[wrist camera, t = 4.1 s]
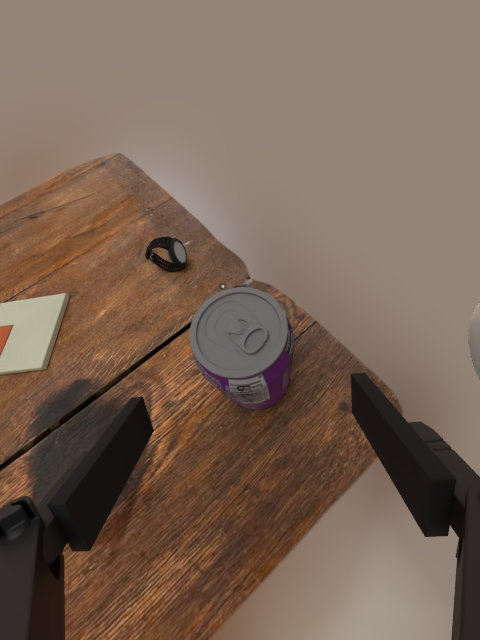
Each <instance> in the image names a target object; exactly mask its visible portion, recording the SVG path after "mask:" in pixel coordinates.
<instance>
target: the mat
mask: <svg viewBox="0 0 480 640" xmlns="http://www.w3.org/2000/svg"><path fill="white" fill-rule="evenodd" d="M69 297H70V296H69V295H68V294H66V293H64V294H58V295H51V296H45V297H39V298H32V299H26V300H19V301H13V302H7V303H0V375H2V374H11V373H19V372H27V371H36V370H44V369H47V366H48V363H49V360H50V357H51V354H52V351H53V347H54V344H55V341H56V338H57V335H58V332H59V329H60V325H61V322H62V319H63V316H64V313H65V310H66V307H67V304H68V300H69Z"/></svg>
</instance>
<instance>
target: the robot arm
mask: <svg viewBox="0 0 480 640" xmlns="http://www.w3.org/2000/svg"><path fill="white" fill-rule="evenodd" d="M351 391H352V413H353V415H354V417H355V418H356V420H357V422H358V424H359V425H360V427H361V429H362V430H363V432H364V434H365V435H366V437H367V439H368V441H369V442H370V444H371V446H372V447H373V449H374V451H375V452H376V454H377V456H378V458H379V459H380V461H381V463H382V464H383V466H384V468H385V469H386V471H387V473H388V474H389V476H390V478H391V480H392V481H393V483H394V485H395V486H396V488H397V490H398V492H399V493H400V495H401V497H402V498H403V500H404V502H405V503H406V505H407V507H408V509H409V510H410V512H411V514H412V515H413V517H414V519H415V520H416V522H417V524H418V526H419V527H420V529H421V531H422V532H423V534H424V536H425V537H435V536H448V532H449V525H450V526H451V527H452V528H453V530H454V531H455V533H456V534H457V536H458V537H459V542H458V547H457V553H456V558H457V568H456V582H455V597H454V612H453V626H452V640H480V477H479V476H478V475H477V474H476V473H475V472H474V471H473V470H472V469H471V468H470V466H468V465H467V464H466V462H465V461H464V460H463V459H462V458H461V457H460V456H459V455H458V454H457V453H456V452H455V451H454V450H452V449H451V447H450V446H449V445H448V444H447V443H446V442H445V441H443V439H442V438H441V437H440V436H439V435H438V434H437V433H436V432H435V431H434V430H433V429H432V428H430V427H429V426H427V425H425V424H424V423H422V422H410V423H408V422H407V421H406V420H405V419H404V418H403V416H402V415H401V414H400V413H399V412H398V411H397V410H396V408H395V407H394V406H393V405H392V404H391V403H390V401H389V400H388V399H387V398H386V397H385V396H384V395H383V393H382V392H381V391H380V390H379V389H378V388H377V386H376V385H375V384H374V383H373V382H372V381H371V380H370V378H369V377H368V376H367V375H366V374H365V373H357V374H351ZM153 432H154V430H153V427H152V424H151V421H150V418H149V415H148V412H147V409H146V406H145V403H144V399H143V397H136V398H131V399H130V401H129V402H128V403H127V404H126V406H125V407H124V408H123V409H122V411H121V412H120V413H119V414H118V416H117V417H116V418H115V419H114V421H113V422H112V423H111V424H110V426H109V427H108V428H107V429H106V431H105V432H104V433H103V435H102V436H101V437H100V438H99V440H98V441H97V442H96V443H95V445H94V446H93V447H92V448H91V450H90V451H86V452H84V453H83V454H82V455H81V456H80V457H78V458H77V459H76V460H75V461H74V462H73V463H72V465H71V466H70V467H69V468H68V469H67V472H65V473H64V474H63V475H62V477H61V479H60V480H58V482H57V483H56V484H55V485H54V486H53V488H52V489H51V490H50V491H49V492H48V494H47V495H46V496H45V497H44V498H43V500H42V501H41V502H40V503H39V505H38V506H37V507H35V505H34V503H33V501H32V500H31V498H30V497H27V496H24V497H19V498H17V499H15V500H13V501H11V502H9V503H8V504H6V505H5V506H3V507H2V508H1V509H0V640H65V593H64V556H63V553H62V551H63V549H64V547H65V546H66V544H67V543H69V545H70V547H71V549H72V551H73V552H74V551H90V550H91V548H92V546H93V544H94V542H95V540H96V538H97V537H98V535H99V533H100V531H101V529H102V527H103V525H104V523H105V522H106V520H107V518H108V516H109V514H110V512H111V510H112V508H113V507H114V505H115V503H116V501H117V499H118V497H119V495H120V493H121V492H122V490H123V488H124V486H125V484H126V482H127V480H128V478H129V477H130V475H131V473H132V471H133V469H134V467H135V465H136V463H137V462H138V460H139V458H140V456H141V454H142V452H143V450H144V448H145V447H146V445H147V443H148V441H149V439H150V437H151V435H152V433H153Z"/></svg>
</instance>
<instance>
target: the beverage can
mask: <svg viewBox="0 0 480 640" xmlns="http://www.w3.org/2000/svg"><path fill="white" fill-rule="evenodd" d="M190 343H191V347H192V350H193V357H194V360H195V363H196V365H197V367H198V369H199V371H200V372H201V373H202V375H203V376H204V377H205V378H206V379H207V380H208V381H209V382H210V383H212V384H213V385H214V386H215V387H216V388H218V389H219V390H220V391H221V392H222V393H224V394H225V395H226V396H227V397H228V398H230V399H231V400H232V401H233V402H235V403H236V404H238V405H239V406H241V407H244V408H247V409H253V410H257V409H264V408H267V407H270V406H272V405H273V404H275V403H276V402H277V401H279V400H280V399H281V397H282V396H283V395H284V393H285V392H286V390H287V387H288V384H289V379H290V372H291V365H292V357H293V350H294V335H293V330H292V326H291V324H290V322H289V320H288V318H287V316H286V315H285V313H284V311H283V309H282V308H281V306H280V305H279V303H278V302H277V301H276V300H275V299H274V298H273V297H271V296H270V295H268V294H267V293H265V292H263V291H260V290H258V289H254V288H248V287H237V288H231V289H227V290H224V291H221V292H219V293H217V294H215V295H214V296H212V297H211V298H209V299H208V300H207V301H206V302H205V303H204V304H203V305H202V306H201V307H200V308H199V310H198V311H197V313H196V314H195V316H194V318H193V321H192V324H191V328H190Z"/></svg>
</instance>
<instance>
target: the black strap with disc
mask: <svg viewBox="0 0 480 640" xmlns="http://www.w3.org/2000/svg"><path fill="white" fill-rule="evenodd" d="M157 240H158V241H157ZM159 243H160V245H159ZM156 244H157V245H156ZM165 244H166V245H165ZM157 247H161V248H164V249H166V250H168V254H169V256H170V258H171V260H172V262H173V263H171V262H168V261H166V260H164V259H162V258H161V257H159V256H158V255H157V254H156V253H155V252H154V251H153V250H152V249H153V248H157ZM151 251H152V252H151ZM153 252H154V253H153ZM152 255H153V256H152ZM145 256H146V259H148V260H149V261H150V262H151V263H152V264H154V263H155V264H156V265H157V266H159V267H160V268H162V269H164V270H166V271H169V272H176V271H180V270H182V269H184V268H185V265H186V262H187V253H186V250H185V248H184V246H183V244H182V242H181V241H179V240H178V239H176V238H173V239H172V238H171V237H160V238H156V239H154V240H152V241H151V243H150V244H149V246H148V247H147V251H146V255H145ZM156 257H157V258H156ZM158 258H159V259H158ZM159 260H160V261H159ZM161 260H162V262H161ZM157 261H158V263H157ZM163 262H165V263H167V264H169V265H170V264H171V265H170V266H169V265H167V264H165V263H163ZM162 265H164V267H162ZM172 265H173V266H172ZM174 265H175V266H174ZM165 266H166V268H165ZM167 267H168V269H167ZM178 267H179V269H178ZM169 268H170V269H169ZM171 268H172V270H171ZM176 268H177V269H176Z"/></svg>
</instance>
